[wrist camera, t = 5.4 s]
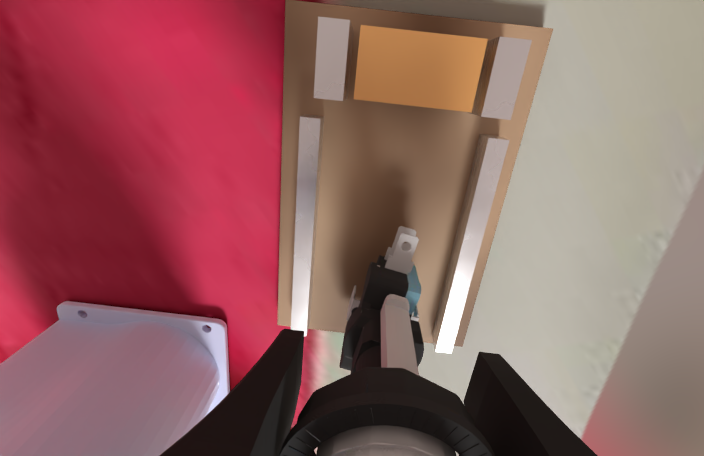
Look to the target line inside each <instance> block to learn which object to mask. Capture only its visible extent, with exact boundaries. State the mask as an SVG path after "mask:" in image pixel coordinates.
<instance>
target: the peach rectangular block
mask: <svg viewBox="0 0 704 456" xmlns="http://www.w3.org/2000/svg"><path fill="white" fill-rule="evenodd" d="M487 41H488V39H485V38H476V37H466V36H457V35H448V34H439V33H430V32H421V31H412V30H403V29H394V28H385V27H376V26H367V25H361V28H360V38H359V48H358V58H357V68H356V79H355V89H354V99H356V100H365V101H374V102H383V103H392V104H400V105H409V106H418V107H427V108H436V109H445V110H454V111H463V112H472V108H473V103H474V99H475V94H476V90H477V86H478V81H479V77H480V72H481V68H482V63H483V59H484V54H485V50H486V46H487Z"/></svg>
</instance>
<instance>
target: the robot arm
mask: <svg viewBox="0 0 704 456" xmlns="http://www.w3.org/2000/svg"><path fill="white" fill-rule="evenodd" d="M84 311H85V312H84ZM57 314H58V317H59V320H58V321H57V322H55V323H54V324H53V325H51V326H50V327H49V328H47V329H46V330H45V331H43V332H42V333H41V334H39V335H38V336H37V337H35V338H34V339H33V340H31V341H30V342H29V343H27V344H26V345H25V346H23V347H22V348H21V349H20V350H18V351H17V352H16V353H14V354H13V355H12V356H10V357H9V358H8V359H6V360H5V361H4V362H2V363H1V364H0V456H279V453H280V450H281V447H282V444H283V443H284V441H285V439H286V437H287V435H288V434H289V431H290V428H291V425H292V421H293V418H294V414H295V410H296V405H297V400H298V395H299V390H300V385H301V375H302V359H303V343H304V331H299V330H290V329H284V330H282V331H281V332H280V333H279V335H278V336H277V338H276V339H275V340H274V342H273V343H272V344H271V346H270V347H269V348H268V349H267V351H266V352H265V353H264V354H263V356H262V357H261V358H260V359H259V361H258V362H257V363H256V364H255V365H254V366H253V367H252V369H251V370H250V371H249V372H248V373H247V374H246V376H245V377H244V378H243V379H242V380H241V381H240V382H239V383H238V384H237V385H236V386H235V387H234V388H233V389H232V390H231V391H230V384H229V362H228V339H227V325H226V323H225V322H224V321H223V320H221V319H217V318H208V317H199V316H191V315H182V314H174V313H165V312H157V311H148V310H140V309H131V308H123V307H114V306H106V305H97V304H89V303H80V302H72V301H64V302H62V303H61V304H59V305H58V306H57ZM206 325H208V326H210V327H211V328H208V327H207V326H206ZM464 405H465V407H466V409H467V410H468V412H469V413H470V415H471V417H472V418H473V420H474V422H475V425H476V428H477V429H478V430H479V431H480V432H481V433H482V434H483V436H484V437H485V439H486V440H487V441H488V443H489V444H490V446H491V448H492V450H493V452H494V454H495V456H597V455H596V454H595V453H594V452H593V451H592V450H591V449H590V448H589V447H588V446H587V445H586V444H585V443H584V442H583V441H582V440H581V439H580V438H578V437H577V436H576V435H575V434H574V433H573V432H572V431H571V430H570V429H569V428H568V427H567V426H566V425H565V424H564V423H563V422H562V421H561V420H560V419H559V418H558V417H557V416H556V414H555V413H554V412H553V411H552V410H551V409H550V408H549V407H548V406H547V405H546V404H545V403H544V402H543V401H542V400H541V399H540V398H539V397H538V395H537V394H536V393H535V392H534V391H533V390H532V389H531V388H530V387H529V386H528V385H527V384H526V382H525V381H524V380H523V379H522V378H521V377H520V376H519V375H518V374H517V373H516V372H515V370H514V369H513V368H512V367H511V366H510V365H509V364H508V363H507V362H506V361H505V360H504V359H503V358H502V357H501V356H500V355H499V354H493V353H484V352H479V354H478V357H477V360H476V364H475V367H474V370H473V373H472V376H471V380H470V383H469V386H468V389H467V392H466V396H465V399H464Z"/></svg>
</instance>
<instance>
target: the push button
mask: <svg viewBox="0 0 704 456" xmlns="http://www.w3.org/2000/svg"><path fill="white" fill-rule="evenodd" d="M418 241H419V239H418V237H416V231H415V230H413V229H410V228H407V227H403V226H400V227H399V228H398V231H397V234H396V237H395V240H394V243H393V245H392V248H390V247H388V249H387V252H386V255H385V257H384V256H381V255H379V257H378V260H377V263H375V262H371V263H370V265H369V268H368V271H367V275H366V279H365V284H364V288H363V293H362V297H361V300H356V299H355V294H356V285H355V286H354V289H353V292H352V295H351V298H350V301H349V306H348V312H347V319H346V320H347V321H348V322H347V324H346V328H345V335H344V341H343V347H342V354H341V360H340V368H343V369H347V370H351V374H350V375H348V376H346V377H344V378H341V379H339V380H337V381H335V382H333V383H331V384H329V385H326V386H324V387H322V388H320V389H318V390H316V391H315V392H313V394H312V395H311V397H310V398H309V400H308V402H307V403H306V405H305V406H304V408H303V410H302V411H301V413H300V414H299V416H298V420H297V424H296V425H295V426H294V427H293V428H292V429H291V431H290V432H289V434H288V435H287V437H286V439H285V441H284V443H283V444H282V447H281V450H280V453H279V456H456V453H455V451H456V452H457V453H458V454H459V456H495V454H494V452H493V450H492V448H491V446H490V444H489V443H488V441H487V440H486V439H485V437H484V436H483V434H482V433H481V432H480V431H479V430H478V429H477V428H476V425H475V422H474V420H473V418H472V417H471V415H470V413H469V412H468V410H467V409H466V407H465V406H464V404H463V403H462V401H461V400H460V398H459V397H458V396H457V395H456V394H455V393H453V392H451V391H449V390H447V389H445V388H443V387H441V386H439V385H437V384H435V383H433V382H431V381H429V380H427V379H425V378H423V377H421V376H419V373H418V365H419V364H420V362H421V359H422V357H423V351H424V343H423V338H422V333H421V328H420V322H418V320H419V317H418V315H419V313H418V308H417V303H418V301H419V298H420V295H421V284H420V283H419V279H418V275H417V271H416V267H415V265H414V262H412V261H411V260H412V257H413V254H414V252H415V249H416V246H417V244H418ZM404 242H406V243H404ZM413 313H414V315H413ZM412 315H413V316H412ZM316 447H318V449H317V454H315V452H314V449H315V448H316Z"/></svg>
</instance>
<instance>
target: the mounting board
mask: <svg viewBox="0 0 704 456" xmlns="http://www.w3.org/2000/svg"><path fill="white" fill-rule="evenodd" d="M318 16H319V17H328V18H337V19H346V20H350V21H351V24H352V27H353V30H354V36H353V46H352V57H351V68H350V79H349V90H348V98H347V99H346V100H344V101H337V100H328V99H319V98H314V82H315V65H316V47H317V29H318ZM361 25H367V26H376V27H385V28H394V29H403V30H412V31H421V32H430V33H439V34H448V35H457V36H466V37H476V38H485V39H488V41H489V40H492V39H495V38H497V37H509V38H518V39H527V40H532V42H531V46H530V50H529V53H528V57H527V61H526V64H525V68H524V72H523V76H522V79H521V83H520V87H519V91H518V94H517V98H516V102H515V106H514V109H513V113H512V117H511V120H506V119H497V118H488V117H480V116H477V115H474V114H470V113H467V112H463V111H454V110H445V109H436V108H427V107H418V106H409V105H400V104H392V103H383V102H374V101H365V100H356V99H354V89H355V79H356V68H357V58H358V48H359V38H360V28H361ZM552 31H553V29H551V28H542V27H533V26H524V25H514V24H505V23H496V22H487V21H478V20H469V19H460V18H451V17H442V16H433V15H423V14H414V13H405V12H396V11H387V10H378V9H369V8H360V7H351V6H342V5H332V4H323V3H314V2H305V1H296V0H285V41H284V82H283V122H282V163H281V203H280V244H279V285H278V325H282V326H290V327H291V312H292V289H293V266H294V242H295V219H296V196H297V173H298V149H299V126H300V116H302V115H304V114H309V115H318V116H324V129H323V144H322V158H321V173H320V187H319V202H318V216H317V231H316V245H315V260H314V274H313V289H312V303H311V318H310V324H309V328H308V329H316V330H324V331H333V332H341V333H345V328H346V324H347V322H348V321H347V320H346V319H347V312H348V306H349V301H350V298H351V295H352V292H353V289H354V286H355V285H356V294H355V299H356V300H361V297H362V293H363V288H364V284H365V279H366V275H367V271H368V268H369V265H370V263H371V262H375V263H377V260H378V257H379V255H381V256H384V257H385V255H386V252H387V249H388V247H390V248H392V245H393V243H394V240H395V237H396V234H397V231H398V228H399V227H400V226H403V227H407V228H410V229H413V230H415V231H416V237H418V239H419V241H418V244H417V246H416V249H415V252H414V254H413V257H412V260H411V261H412V262H414V265H415V267H416V271H417V275H418V279H419V283H420V284H421V295H420V298H419V301H418V303H417V308H418V313H419V315H418V317H419V320H418V322H420V328H421V333H422V338H423V342H427V343H433V339H432V332H433V328H434V323H435V319H436V315H437V311H438V307H439V302H440V298H441V294H442V290H443V286H444V281H445V277H446V273H447V269H448V265H449V261H450V256H451V252H452V248H453V244H454V240H455V235H456V231H457V227H458V223H459V219H460V214H461V210H462V206H463V202H464V198H465V194H466V189H467V185H468V181H469V177H470V173H471V168H472V164H473V160H474V156H475V152H476V147H477V143H478V139H479V135H480V134H487V135H496V136H501V137H503V138H505V139H508V140H509V144H508V148H507V151H506V155H505V159H504V162H503V166H502V170H501V173H500V177H499V181H498V184H497V188H496V192H495V195H494V199H493V203H492V206H491V210H490V214H489V217H488V221H487V225H486V228H485V232H484V236H483V239H482V243H481V247H480V250H479V254H478V258H477V261H476V265H475V269H474V272H473V276H472V280H471V283H470V287H469V291H468V294H467V298H466V302H465V305H464V309H463V313H462V316H461V320H460V324H459V327H458V331H457V335H456V338H455V342H454V346H461V347H462V346H463V342H464V339H465V335H466V332H467V328H468V325H469V321H470V318H471V314H472V311H473V307H474V304H475V300H476V297H477V293H478V290H479V286H480V283H481V279H482V276H483V272H484V269H485V265H486V262H487V258H488V255H489V251H490V248H491V244H492V241H493V237H494V234H495V230H496V227H497V223H498V220H499V216H500V213H501V209H502V206H503V202H504V199H505V195H506V192H507V188H508V185H509V181H510V178H511V174H512V171H513V167H514V164H515V160H516V157H517V153H518V150H519V146H520V143H521V139H522V136H523V132H524V129H525V125H526V122H527V118H528V115H529V111H530V108H531V104H532V101H533V97H534V94H535V90H536V87H537V83H538V80H539V76H540V73H541V69H542V66H543V62H544V59H545V55H546V52H547V48H548V45H549V41H550V38H551V34H552ZM404 243H406V242H404ZM413 315H414V313H413ZM413 315H412V316H413Z"/></svg>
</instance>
